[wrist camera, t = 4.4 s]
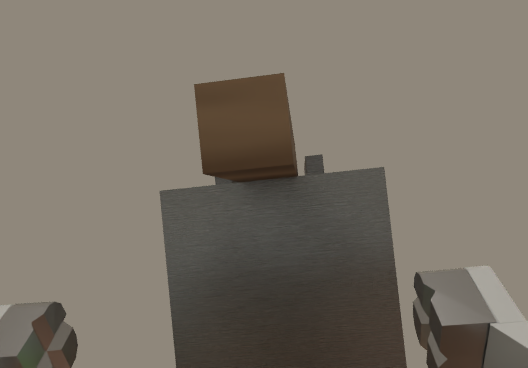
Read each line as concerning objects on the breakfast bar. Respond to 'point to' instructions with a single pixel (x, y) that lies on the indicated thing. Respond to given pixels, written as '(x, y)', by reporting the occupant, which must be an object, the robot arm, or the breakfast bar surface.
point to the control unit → (284, 272)
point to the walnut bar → (246, 129)
